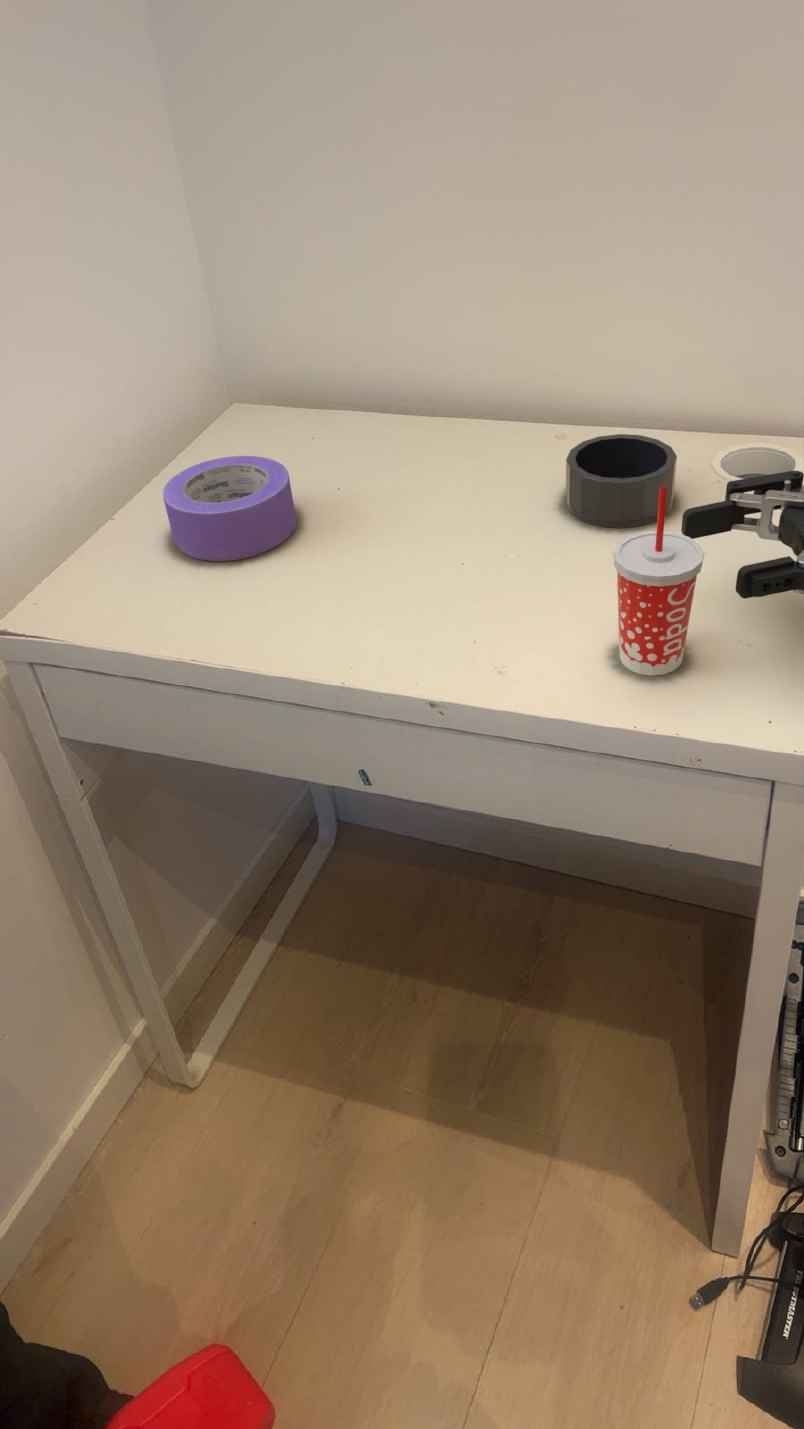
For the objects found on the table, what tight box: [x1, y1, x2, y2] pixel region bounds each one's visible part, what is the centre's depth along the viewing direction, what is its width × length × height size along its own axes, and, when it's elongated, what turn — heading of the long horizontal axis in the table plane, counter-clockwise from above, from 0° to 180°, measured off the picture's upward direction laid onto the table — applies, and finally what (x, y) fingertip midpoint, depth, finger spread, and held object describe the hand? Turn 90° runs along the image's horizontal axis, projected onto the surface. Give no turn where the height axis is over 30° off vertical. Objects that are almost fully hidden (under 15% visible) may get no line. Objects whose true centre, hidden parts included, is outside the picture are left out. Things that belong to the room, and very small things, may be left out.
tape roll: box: [162, 455, 297, 562], centre depth 97 cm, size 12×12×5 cm
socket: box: [565, 433, 678, 529], centre depth 95 cm, size 10×10×4 cm
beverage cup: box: [613, 485, 705, 677], centre depth 73 cm, size 6×6×14 cm
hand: (710, 553), depth 73 cm, fingers open, 8 cm apart
